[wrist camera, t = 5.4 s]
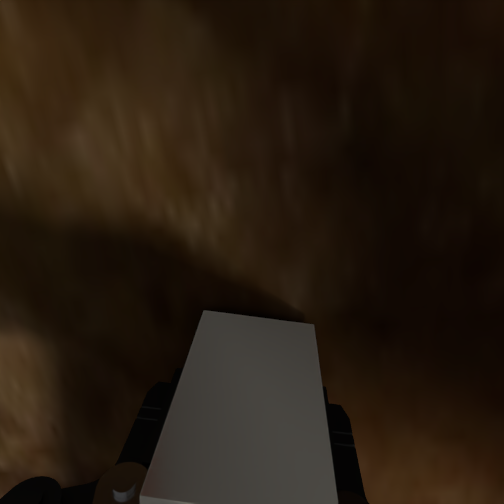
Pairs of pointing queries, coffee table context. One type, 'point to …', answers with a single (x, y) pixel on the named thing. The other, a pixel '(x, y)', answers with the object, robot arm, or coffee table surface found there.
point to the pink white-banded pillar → (245, 419)
